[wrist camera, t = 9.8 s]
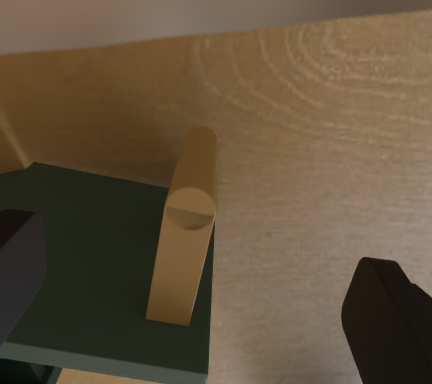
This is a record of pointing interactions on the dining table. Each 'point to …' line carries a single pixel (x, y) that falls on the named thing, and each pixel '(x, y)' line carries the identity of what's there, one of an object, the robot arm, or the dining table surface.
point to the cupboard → (19, 370)
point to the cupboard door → (122, 269)
